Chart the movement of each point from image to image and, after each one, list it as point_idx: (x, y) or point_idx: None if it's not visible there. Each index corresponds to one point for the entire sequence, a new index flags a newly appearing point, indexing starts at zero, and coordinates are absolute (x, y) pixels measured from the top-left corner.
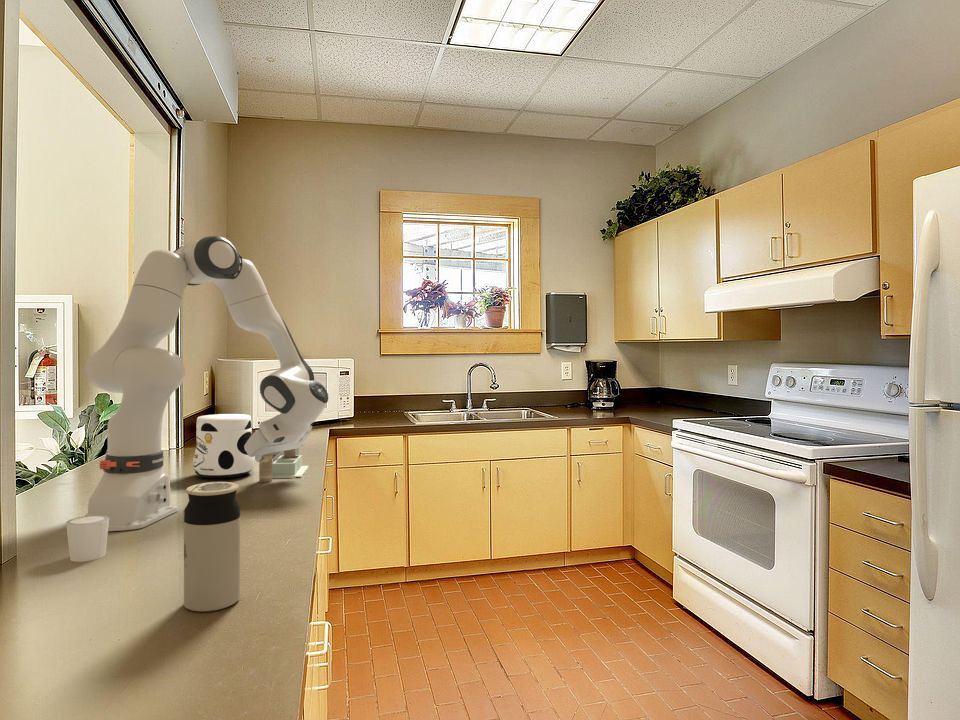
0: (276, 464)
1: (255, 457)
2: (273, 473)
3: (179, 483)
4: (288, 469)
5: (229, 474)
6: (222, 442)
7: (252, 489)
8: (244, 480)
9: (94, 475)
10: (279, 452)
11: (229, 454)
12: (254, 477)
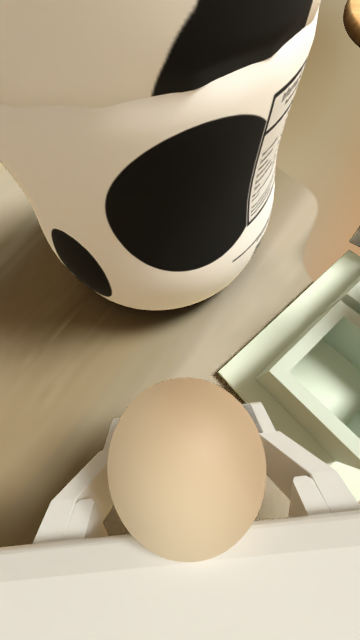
0: (286, 389)
1: (113, 426)
2: (261, 383)
3: (29, 243)
4: (324, 437)
5: (117, 303)
6: (22, 182)
7: None
8: (154, 347)
9: None
10: (290, 496)
11: (84, 256)
12: (207, 332)
